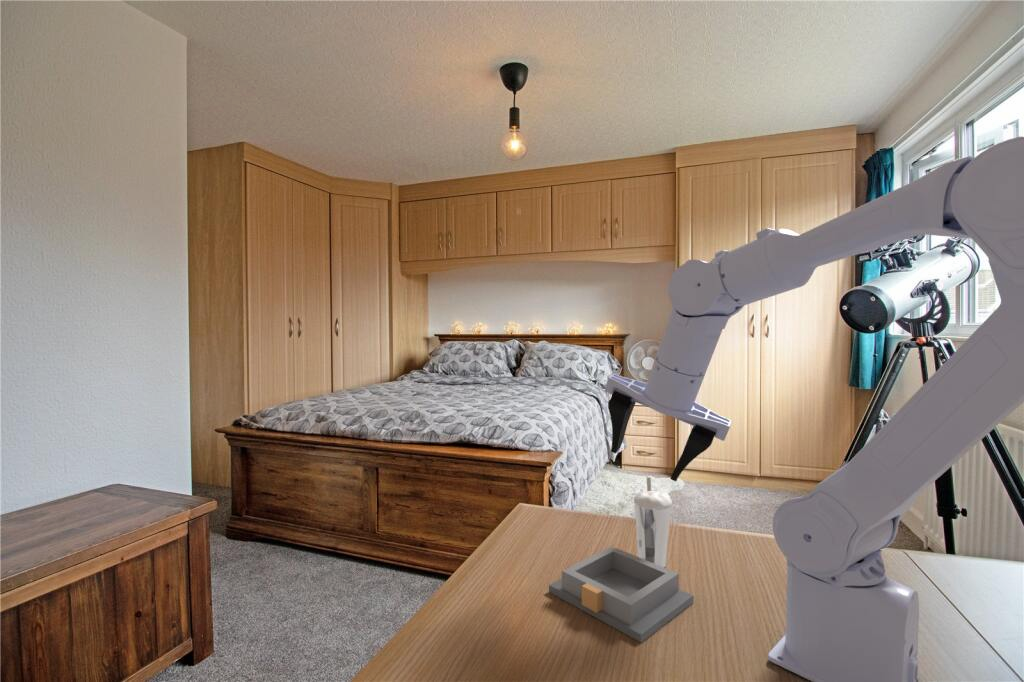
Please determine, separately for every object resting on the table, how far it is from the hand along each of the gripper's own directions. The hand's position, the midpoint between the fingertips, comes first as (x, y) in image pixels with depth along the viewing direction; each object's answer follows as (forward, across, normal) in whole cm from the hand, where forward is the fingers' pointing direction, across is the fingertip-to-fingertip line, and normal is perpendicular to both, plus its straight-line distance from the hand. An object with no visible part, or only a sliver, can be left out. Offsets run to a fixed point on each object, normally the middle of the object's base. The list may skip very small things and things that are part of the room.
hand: (644, 462), depth 62 cm
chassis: (+10, -3, +11) cm, 16 cm away
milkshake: (+12, -5, +2) cm, 13 cm away
